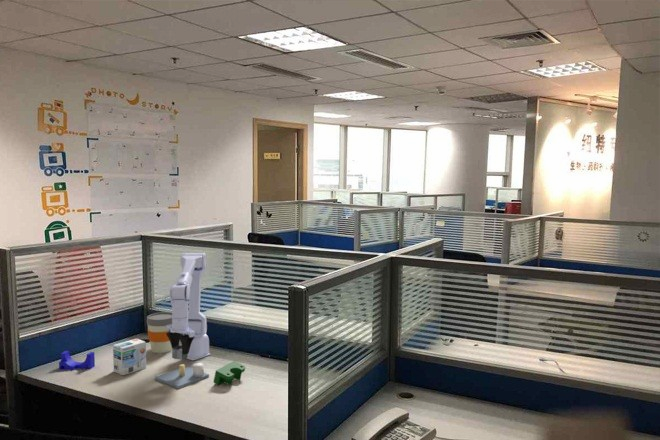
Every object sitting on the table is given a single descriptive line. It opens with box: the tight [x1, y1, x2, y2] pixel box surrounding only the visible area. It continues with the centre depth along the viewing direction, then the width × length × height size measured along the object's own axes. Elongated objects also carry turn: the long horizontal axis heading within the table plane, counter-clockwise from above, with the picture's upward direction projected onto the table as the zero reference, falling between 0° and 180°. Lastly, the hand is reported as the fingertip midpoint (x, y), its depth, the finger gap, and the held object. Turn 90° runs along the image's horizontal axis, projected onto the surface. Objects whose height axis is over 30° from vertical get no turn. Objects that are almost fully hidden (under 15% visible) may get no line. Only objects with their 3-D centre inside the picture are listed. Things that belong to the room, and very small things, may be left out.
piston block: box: [154, 362, 210, 390], centre depth 196 cm, size 14×14×5 cm
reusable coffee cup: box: [146, 311, 172, 354], centre depth 227 cm, size 13×13×15 cm
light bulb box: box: [112, 338, 147, 376], centre depth 204 cm, size 11×7×11 cm, turn 143°
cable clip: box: [58, 350, 96, 371], centre depth 205 cm, size 12×4×6 cm, turn 86°
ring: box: [171, 344, 188, 360], centre depth 196 cm, size 6×6×4 cm
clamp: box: [213, 360, 246, 386], centre depth 193 cm, size 12×6×9 cm, turn 148°
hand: (180, 352), depth 196 cm, fingers closed on ring, 6 cm apart
